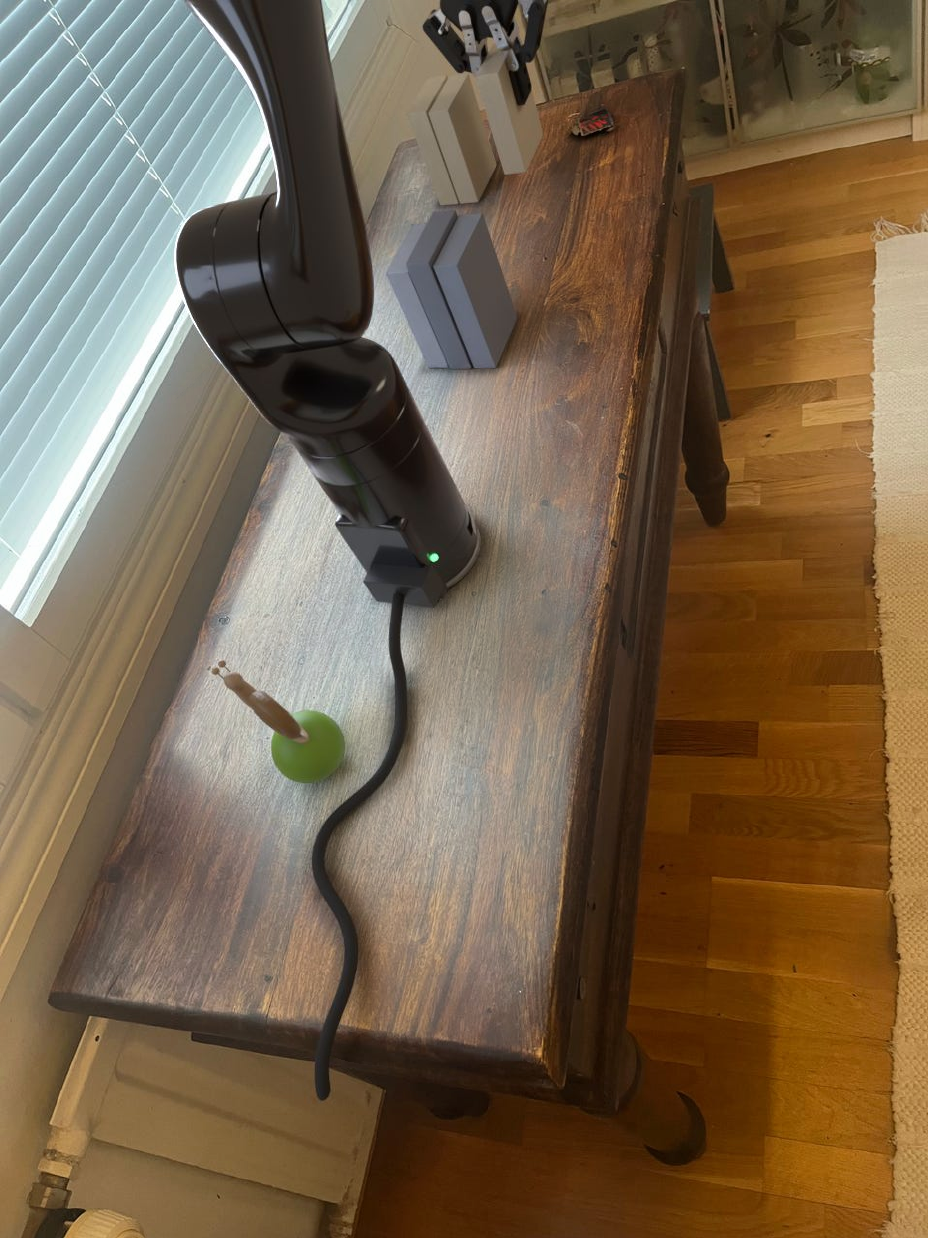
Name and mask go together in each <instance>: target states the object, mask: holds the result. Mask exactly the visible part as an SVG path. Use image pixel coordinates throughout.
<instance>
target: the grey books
mask: <svg viewBox="0 0 928 1238" xmlns="http://www.w3.org/2000/svg"><path fill="white" fill-rule="evenodd" d="M385 276H386V278H387V280H388V283H389V284H390V286H391V289H392V291H393V294H394V296H395V298H396V300H397V303H398V304H399V307H400V309H401V311H402V313H403V316H404V317H405V320H406V322H407V324H408V326H409V328H410V331H411V333H412V335H413V337H414V340H415V342H416V344H417V346H418V349H419V351H420V353H421V355H422V357H423V359H424V362H425V364H426V367H427V368H428V369H432V368H435V369H438V368H442V369H443V368H446V369H447V368H449V369H450V370H471V369H496V368H497V367H498V365H499V362H500V359H501V357H502V354H503V352H504V350H505V348H506V346H507V343H508V341H509V339H510V336H511V334H512V331H513V329H514V327H515V325H516V322H517V320H518V315H517V311H516V308H515V305H514V303H513V300H512V297H511V294H510V291H509V288H508V284H507V282H506V279H505V276H504V272H503V270H502V267H501V263H500V260H499V257H498V254H497V252H496V248H495V245H494V243H493V240H492V237H491V234H490V231H489V227H488V225H487V222H486V219H485V216H484V213H483V212H476V213H474V212H473V213H463V214H459V215H458V213H457V210H456V209H447V210H437V211H435V210H434V211H432V212H431V215H430V216H429V218H428V220H427V222H425V223H415V224H414V223H413V224H411V225H410V227H409V229H408V230H407V231H406V234H405V236H404V238H403V239H402V242H401V244H400V246H399V247H398V249H397V250H396V253H395V254H394V256H393V259H392V260H391V261H390V264H389V266H388V267H387V269H386V272H385Z"/></svg>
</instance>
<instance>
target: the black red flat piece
mask: <svg viewBox="0 0 928 1238" xmlns="http://www.w3.org/2000/svg"><path fill="white" fill-rule="evenodd" d="M612 126H613V127H612ZM606 128H608V129H606ZM616 128H618V127H617V126H614V121H613V118H612V116H611V113H610V111H608V110H607V109H605V108H604V107H603V108H599V109H598V110H595V111H592V112H590V113H588V114H586V115H585V116H583V117H582V118H580V119H578V120H577V124H575V125H573V126H572V127H571V132H572V133H573V134H574V135H575V136H579V134H580V135H581V136H582V137H583V136H587V135H589V134H592V133H594V132H597V131H602V130H603V129H606V132H611V131H612V130H614V129H616Z"/></svg>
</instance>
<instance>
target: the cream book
mask: <svg viewBox="0 0 928 1238" xmlns="http://www.w3.org/2000/svg"><path fill="white" fill-rule="evenodd" d="M509 71H510V69H509V68H508V66H507V63H506V61H505V58H504V56H503V53H502V52H501V51H499V50H498V48H497V45H496V43H495V40H494V41H493V43H492V45H491V47H490V48H489V49H488V54H487V56H486V58H485V60H484V61H483V63H482V65H481V67H480V69H479V71H478V72H477V74H476V76H474V78H475V81H476V85H477V88H478V92H479V95H480V99H481V102H482V105H483V108H484V111H485V115H486V118H487V122H488V124H489V128H490V131H491V133H492V138H493V141H494V144H495V148H496V150H497V154H498V158H499V161H500V164H501V167H502V170H503V174H504V175H505V176H509V175H517V174H526V173H527V171H528V169H529V167H530V165H531V162H532V161H533V158H534V156H535V154H536V152H537V150H538V148H539V145H540V143H541V141H542V139H543V136H544V132H543V128H542V123H541V120H540V116H539V112H538V108H537V104H536V100H535V96H534V92H533V88H531V92H530V94H529V96H528V99H527V101H526V103H525V105H520V106H518V105H517V103H516V99H515V95H514V92H513V88H512V85H511V81H510V77H509V74H508V73H509Z"/></svg>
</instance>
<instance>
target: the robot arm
mask: <svg viewBox="0 0 928 1238" xmlns="http://www.w3.org/2000/svg"><path fill="white" fill-rule="evenodd" d="M182 2H183V3H184V4H185V6H186V7H187V8H188V10H189V12H191V13H192V15H193V16H194V17H195V19H196V20H197V22H199V24H200V25H201V26H202V27H203V29H204V30H205V32H206V33H207V34H208V35H209V36H210V37H211V39H212V40H213V41H214V42H215V43H216V45H217V46H218V47H219V49H220V50H221V51H222V53H223V54H224V55H225V56H226V58H227V59H228V60H229V62H230V64H232V66H233V67H234V68H235V70H236V71H237V73H238V74H239V75H240V77H241V78H242V80H243V82H244V83H245V85H246V87H247V89H248V91H249V92H250V94H251V95H252V97H253V99H254V101H255V104H256V106H257V108H258V111H259V113H260V118H261V119H262V122H263V125H264V128H265V132H266V136H267V139H268V142H269V147H270V151H271V155H272V159H273V164H274V168H275V175H276V182H277V190H276V191H272V192H268V193H267V192H266V193H263V194H259V195H258V194H257V195H253V196H250V197H245V198H241V199H236V200H232V201H231V200H230V201H227V202H222V203H217V204H215V205H211V206H208V207H203V208H202V209H200V210H197V211H195V212H193V213H192V214H191V215H190V216H189V217H188V218H187V219H186V220H185V221H184V222H183V224H182V226H181V227H180V228H179V229H180V230H179V232H178V234H177V237H176V239H175V240H176V241H175V246H174V268H175V274H176V275H175V276H176V279H177V283H178V287H179V291H180V295H181V297H182V300H183V302H184V303H183V304H184V305H185V308H186V310H187V312H188V315H190V318H191V321H192V322H193V323H194V325H195V327H196V329H197V330H198V333H199V334H200V335H201V337H202V339H203V340H204V342H205V343H206V344H207V347H208V348H209V349H210V350H211V352H212V353H213V355H214V356H215V358H217V360H218V361H219V363H220V364H221V365H222V367H224V369H225V371H226V372H227V373H228V374H229V375H230V376H231V378H232V379H233V381H234V382H235V383H236V384H237V386H238V387H239V388H240V390H241V391H242V392H243V394H244V395H245V396H246V398H247V399H248V400H249V401H250V403H251V404H252V406H253V407H254V408H255V409H256V411H257V412H258V413H259V415H260V416H261V417H262V418H263V419H264V420H265V421H266V422H267V424H269V425H270V426H271V427H272V428H273V429H276V430H277V431H278V432H280V433H282V434H284V435H286V436H287V438H288V439H289V440H290V442H291V443H292V445H293V447H294V449H296V451H297V453H298V454H299V456H300V457H301V459H302V460H303V462H304V463H305V465H306V466H307V468H308V469H309V471H310V473H311V474H312V475H313V477H314V478H315V480H316V481H317V483H318V485H319V486H320V487H321V489H322V491H323V492H324V494H325V496H326V497H327V498H328V500H329V501H330V503H331V504H332V505H333V508H334V509H335V510H336V512H337V513H338V515H337V518H336V519H335V521H334V527H335V528H336V530H337V531H338V532H339V534H340V535H341V537H342V539H343V540H344V542H345V543H346V544H347V546H348V547H349V549H350V550H351V551H352V552H351V553H353V555H354V556H355V558H356V559H357V561H358V562H359V563H360V565H361V566H362V568H363V569H364V571H365V572H366V574H365V577H364V579H363V581H362V583H363V584H364V585H365V587H366V588H367V590H368V591H369V593H370V594H371V596H372V597H373V598H374V600H375V601H376V602H379V603H385V604H386V603H387V604H391V609H390V617H389V626H388V655H389V659H390V664H391V669H392V672H393V679H394V681H393V682H394V722H393V729H392V730H393V731H392V734H391V739H390V743H389V746H388V748H387V751H386V753H385V755H384V758H383V760H382V762H381V764H380V766H379V767H378V769H377V770H376V771H375V773H374V774H373V775H372V776H371V777H370V778H369V780H368V781H366V783H364V784H363V785H362V786H361V787H360V788H359V789H358V790H357V791H355V792H354V793H353V794H351V796H349V797H348V798H347V799H345V801H343V802H342V803H341V804H340V805H339V806H338V807H337V808H336V809H334V811H332V813H331V814H330V815H329V816H328V817H327V819H326V820H325V821H324V822H323V824H322V826H321V828H320V829H319V831H318V833H317V835H316V838H315V841H314V845H313V848H312V854H311V870H312V871H311V872H312V875H313V879H314V881H315V884H316V886H317V888H318V891H319V893H320V894H321V896H322V897H323V899H324V901H325V902H326V904H327V906H328V907H329V909H330V910H331V912H332V914H333V915H334V917H335V919H336V921H337V923H338V925H339V928H340V930H341V931H340V932H341V935H342V938H343V949H344V954H343V956H344V957H343V964H342V971H341V975H340V979H339V983H338V985H337V989H336V992H335V995H334V997H333V999H332V1002H331V1005H330V1006H329V1010H328V1013H327V1015H326V1018H325V1020H324V1023H323V1026H322V1029H321V1031H320V1035H319V1038H318V1043H317V1047H316V1053H315V1059H314V1086H315V1087H314V1088H315V1093H316V1097H317V1099H318V1100H319V1101H320V1102H321V1101H326V1100H327V1099H328V1098H329V1097H330V1094H331V1090H332V1089H331V1080H330V1060H331V1053H332V1048H333V1044H334V1041H335V1038H336V1034H337V1032H338V1028H339V1025H340V1023H341V1020H342V1017H343V1015H344V1013H345V1009H346V1007H347V1004H348V1002H349V999H350V996H351V994H352V990H353V987H354V985H355V980H356V975H357V970H358V963H359V940H358V933H357V930H356V925H355V923H354V920H353V918H352V915H351V913H350V911H349V910H348V908H347V906H346V905H345V903H344V901H343V900H342V898H341V897H340V895H339V893H338V892H337V890H336V889H335V887H334V886H333V884H332V882H331V880H330V878H329V875H328V873H327V868H326V859H325V857H326V851H327V847H328V843H329V840H330V838H331V836H332V834H333V833H334V831H335V830H336V828H337V827H338V826H339V825H340V824H341V822H342V821H344V819H345V818H347V816H349V814H351V813H352V812H353V811H354V810H355V809H356V808H358V807H360V805H361V804H362V803H364V802H365V801H366V800H367V799H369V798H370V797H371V796H372V795H373V794H374V793H375V792H376V791H377V790H378V789H379V788H380V787H381V786H382V785H383V784H384V782H385V781H386V780H387V778H388V777H389V776H390V774H391V772H392V770H393V769H394V766H395V765H396V764H397V760H398V759H399V756H400V753H401V750H402V748H403V744H404V740H405V736H406V732H407V731H406V730H407V724H408V723H407V722H408V693H407V692H408V691H407V689H408V687H407V686H408V685H407V673H406V668H405V663H404V660H403V654H402V646H401V639H402V638H401V635H402V622H403V613H404V606H410V607H411V606H412V607H418V608H419V607H420V608H429V609H435V608H436V605H437V603H438V602H439V601H440V600H443V599H444V598H445V596H446V594H447V591H448V590H449V589H450V588H451V587H454V586H455V585H456V584H457V583H458V582H460V581H461V580H462V579H464V578H465V576H466V575H467V574H469V572H470V571H471V569H472V568H473V567H474V565H475V564H476V562H477V559H478V558H479V554H480V552H481V545H482V537H481V533H480V529H479V527H478V525H477V523H476V521H475V517H474V511H473V509H472V507H471V505H470V504H468V507H467V505H466V503H465V501H464V500H463V497H462V495H461V493H460V490H459V489H458V487H457V485H456V483H455V481H454V479H453V477H452V475H451V473H450V471H449V469H448V466H447V465H446V462H445V461H444V458H443V456H442V454H441V452H440V450H439V448H438V446H437V444H436V442H435V440H434V438H433V436H432V434H431V432H430V430H429V428H428V425H427V423H426V422H425V419H424V417H423V416H422V414H421V411H420V409H419V407H418V405H417V402H416V401H415V398H414V397H413V394H412V392H411V391H410V388H409V386H408V384H407V383H406V380H405V379H404V378H405V377H404V376H403V374H402V372H401V369H400V367H399V365H398V364H397V362H396V360H395V359H394V357H393V356H392V354H391V353H390V352H389V351H388V349H386V348H385V347H384V346H383V345H382V344H380V343H378V342H376V341H375V340H372V339H369V338H366V337H363V336H364V335H365V333H366V332H367V331H368V329H369V327H370V324H371V320H372V317H373V313H374V306H375V305H374V304H375V279H374V270H373V268H374V267H373V261H372V254H371V249H370V242H369V241H370V240H369V237H368V232H367V226H366V222H365V217H364V211H363V207H362V202H361V197H360V194H359V189H358V185H357V180H356V175H355V170H354V166H353V162H352V157H351V153H350V148H349V143H348V139H347V135H346V131H345V125H344V120H343V116H342V112H341V106H340V102H339V98H338V97H339V96H338V92H337V87H336V81H335V77H334V72H333V71H334V70H333V65H332V59H331V54H330V48H329V41H328V35H327V27H326V21H325V16H324V15H325V13H324V7H323V1H322V0H182ZM548 3H549V0H439V7H438V8H437V9H432V10H431V11H430V13H429V14H428V16H427V17H426V19H425V21H424V23H423V24H422V30H423V33H425V35H426V36H427V38H429V39H430V41H431V42H432V44H433V45H434V46H435V47H436V49H437V50H438V51H439V52H440V53H441V55H442V56H443V57H444V59H445V60H446V61H447V62H448V63H449V65H450V66H451V67H452V68H453V70H454V71H455V72H456V73H457V74H464V73H465V72H466V73H470V74H472V75H473V77H475V76H476V74H477V72H478V71H479V69H480V67H481V65H482V63H483V61H484V60H485V58H486V56H487V54H488V52H489V47H488V39H489V38H490V39H493V40H494V41H495V43H496V45H497V48H498V50H499V51H501V52H502V53H503V56H504V58H505V61H506V63H507V66H508V68H509V69H510V71H509V73H508V74H509V77H510V81H511V85H512V88H513V92H514V95H515V99H516V103H517V105H518V106H520V105H525V103H526V101H527V99H528V96H529V94H530V92H531V88H532V87H533V85H532V82H531V78H530V73H529V71H528V70H529V69H528V66H527V64H530V63H532V62H533V60H534V58H535V56H536V54H537V52H538V50H539V49H540V47H541V42H542V37H543V31H544V27H545V26H544V25H545V22H546V21H545V20H546V19H545V18H546V16H547V10H548ZM519 4H520V5H521V7H522V14H523V16H524V17H523V18H525V19H527V22H526V29H525V35H524V40H523V42H522V39H521V36H520V26H519V24H518V22H517V20H516V17H515V15H516V12H517V9H518V6H519ZM452 25H454V26H455V27H456V28H457V29H458V30H459V31H460V32H461V33H462V37H463V39H462V38H461V37H460V35H459V34H458V33H457V32H456V30H455V29H454V27H452ZM532 89H533V88H532Z"/></svg>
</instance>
